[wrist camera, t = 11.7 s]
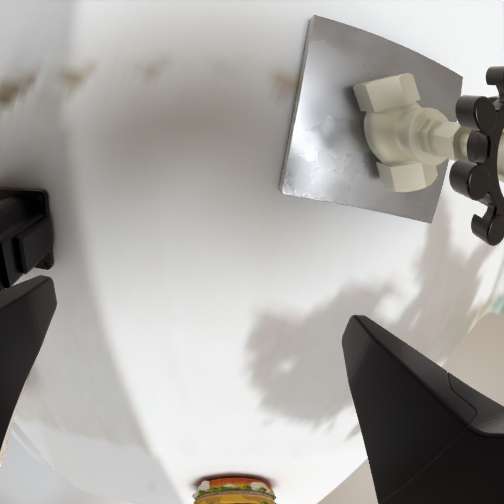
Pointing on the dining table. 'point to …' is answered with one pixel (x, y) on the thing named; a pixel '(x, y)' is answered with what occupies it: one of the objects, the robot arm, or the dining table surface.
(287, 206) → the dining table surface
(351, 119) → the steel seat plate
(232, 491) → the burger
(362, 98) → the valve
